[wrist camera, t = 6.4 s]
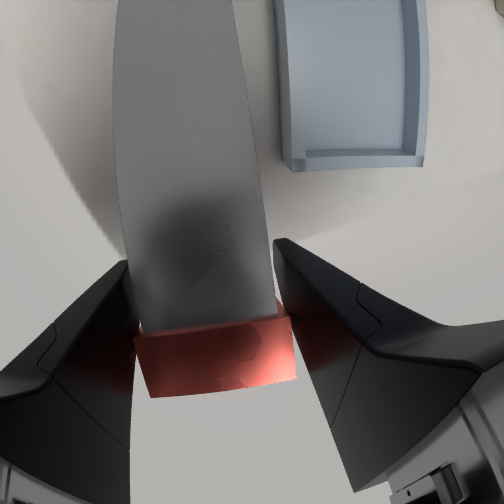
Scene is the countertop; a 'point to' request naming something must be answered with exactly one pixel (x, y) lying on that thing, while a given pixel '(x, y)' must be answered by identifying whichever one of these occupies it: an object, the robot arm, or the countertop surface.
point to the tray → (352, 83)
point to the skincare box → (500, 6)
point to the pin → (193, 203)
